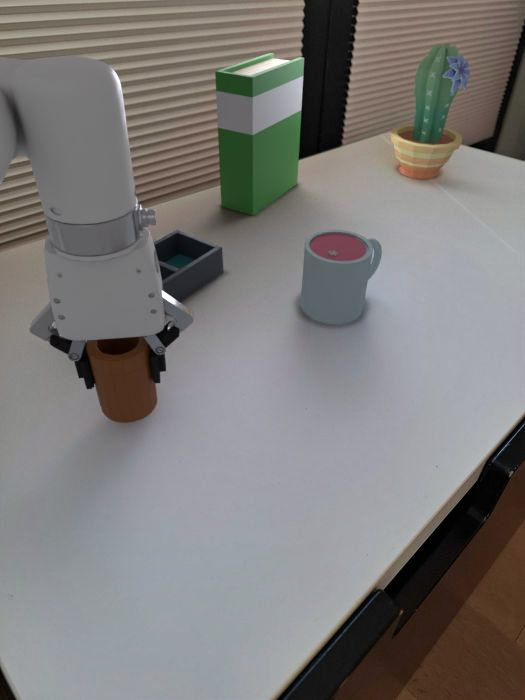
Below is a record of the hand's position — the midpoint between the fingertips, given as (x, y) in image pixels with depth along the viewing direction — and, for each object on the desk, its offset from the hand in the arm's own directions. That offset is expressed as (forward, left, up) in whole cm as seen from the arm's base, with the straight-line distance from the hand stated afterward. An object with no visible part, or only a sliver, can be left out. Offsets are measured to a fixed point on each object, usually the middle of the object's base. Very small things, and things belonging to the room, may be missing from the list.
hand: (124, 376), depth 55 cm
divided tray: (-16, +21, -6) cm, 26 cm away
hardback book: (-24, +58, -6) cm, 62 cm away
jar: (0, 0, -4) cm, 4 cm away
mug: (+8, +35, -6) cm, 36 cm away
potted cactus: (-3, +90, -6) cm, 90 cm away
